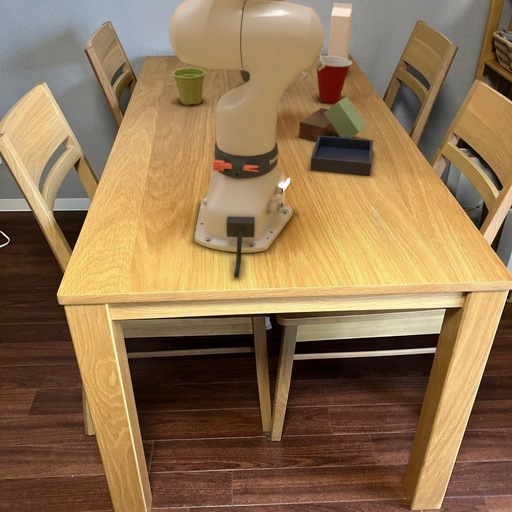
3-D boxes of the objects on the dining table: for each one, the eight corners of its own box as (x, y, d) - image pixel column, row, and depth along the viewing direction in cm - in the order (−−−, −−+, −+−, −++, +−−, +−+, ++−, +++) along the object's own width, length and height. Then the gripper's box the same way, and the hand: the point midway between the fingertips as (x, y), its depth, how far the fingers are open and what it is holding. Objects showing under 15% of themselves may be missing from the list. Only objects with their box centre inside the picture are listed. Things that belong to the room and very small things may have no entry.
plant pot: (168, 104, 162) (165, 74, 157) (186, 94, 168) (184, 65, 163) (195, 109, 158) (193, 79, 153) (212, 99, 165) (211, 70, 160)
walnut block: (298, 137, 142) (299, 121, 140) (320, 122, 150) (321, 107, 148) (322, 143, 139) (324, 127, 137) (343, 128, 147) (345, 113, 145)
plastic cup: (355, 103, 163) (359, 62, 156) (322, 108, 160) (325, 66, 153) (337, 92, 171) (341, 52, 164) (305, 96, 168) (308, 55, 161)
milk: (329, 70, 190) (334, 0, 178) (346, 72, 189) (353, 1, 176) (326, 75, 185) (331, 4, 173) (344, 77, 184) (350, 5, 171)
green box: (321, 137, 142) (324, 99, 137) (330, 130, 146) (334, 93, 140) (357, 146, 138) (361, 107, 132) (365, 139, 141) (370, 100, 136)
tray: (369, 176, 124) (371, 163, 123) (310, 170, 127) (311, 157, 125) (371, 151, 135) (373, 139, 133) (317, 146, 137) (318, 135, 136)
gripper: (266, 26, 127) (301, 76, 128) (309, 11, 141) (340, 56, 142) (250, 44, 132) (284, 92, 133) (293, 27, 146) (323, 71, 147)
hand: (313, 73), depth 138 cm, fingers open, 8 cm apart
